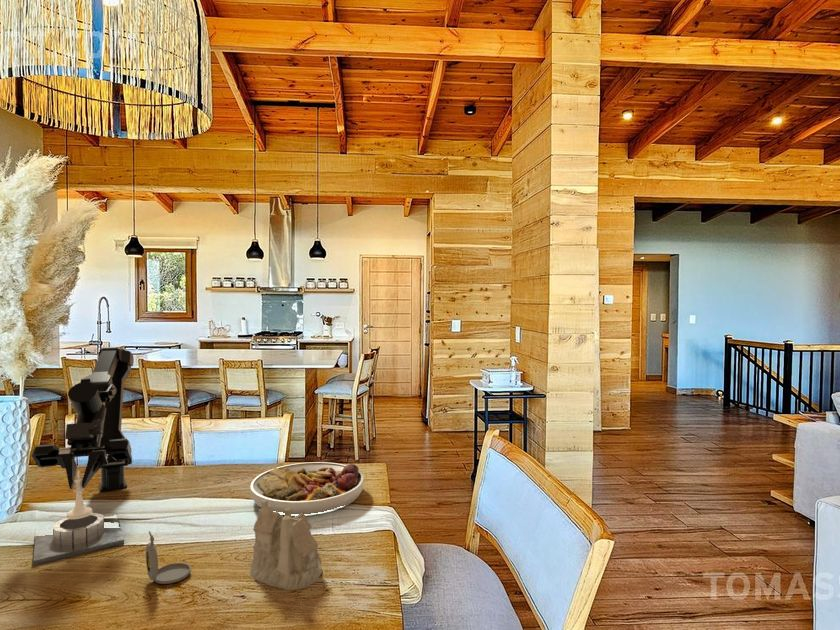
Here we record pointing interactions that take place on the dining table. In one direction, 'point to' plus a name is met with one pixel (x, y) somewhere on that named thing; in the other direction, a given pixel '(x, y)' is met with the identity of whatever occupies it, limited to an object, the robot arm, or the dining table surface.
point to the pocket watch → (164, 573)
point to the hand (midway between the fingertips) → (77, 487)
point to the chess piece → (79, 501)
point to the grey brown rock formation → (284, 550)
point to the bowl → (308, 487)
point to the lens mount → (76, 538)
